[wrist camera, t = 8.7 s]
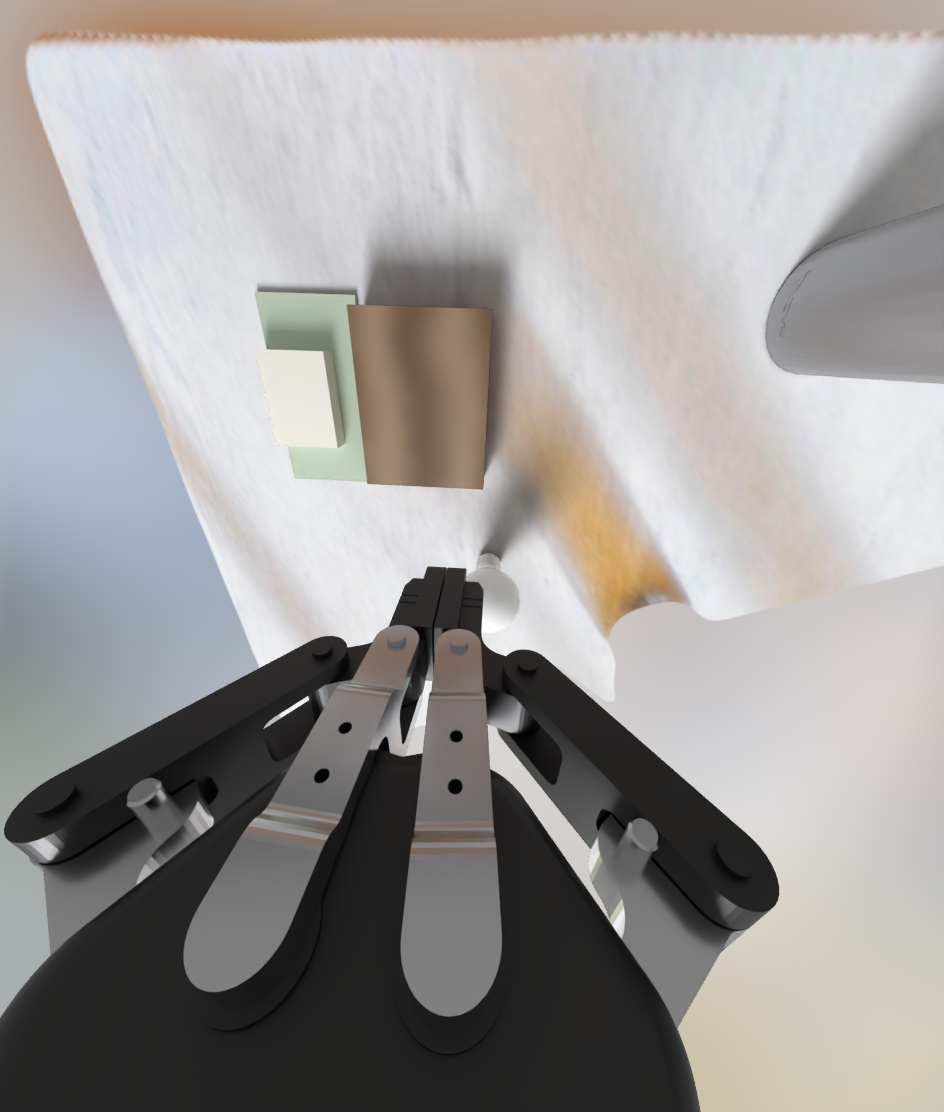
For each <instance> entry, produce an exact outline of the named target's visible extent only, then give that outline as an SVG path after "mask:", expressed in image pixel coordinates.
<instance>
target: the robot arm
mask: <svg viewBox="0 0 944 1112" xmlns="http://www.w3.org/2000/svg"><path fill="white" fill-rule="evenodd" d="M766 344H767V349H768V352H769V354H770V356H771V358H772V360H773V361H774V362H775V363H776V364H777V366H779V367H780V368H782V369H783V370H785V371H787V372H790V373H794V374H801V375H817V376H832V377H843V378H859V379H874V380H890V381H906V382H921V383H937V384H944V204H943V205H940V206H937V207H934V208H931V209H928V210H925V211H922V212H919V213H916V214H913V215H910V216H907V217H904V218H901V219H898V220H895V221H892V222H889V223H886V224H883V225H880V226H877V227H874V228H871V229H868V230H865V231H862V232H859V233H856V234H853V235H850V236H847V237H844V238H841V239H839V240H836V241H834V242H832V243H829V244H827V245H825V246H824V247H822V248H821V249H819V250H817V251H816V252H814V253H813V254H811V255H810V256H809V257H808V258H807V259H806V260H804V261H803V262H802V263H801V264H800V265H799V266H798V267H797V268H796V269H795V270H794V271H793V273H792V274H791V275H790V276H789V277H788V278H787V280H786V281H785V283H784V284H783V286H782V287H781V289H780V290H779V292H778V294H777V296H776V298H775V300H774V302H773V304H772V306H771V309H770V312H769V316H768V320H767V324H766ZM483 595H484V590H483V588H482V587H481V585H480V583H479V582H468V581H466V569H463V568H445V567H427V570H426V573H425V576H424V579H417V578H413V579H412V580H411V581H410V582H409V583H407V584H406V585H405V587H404V590H403V592H402V596H401V597H400V600H399V603H398V605H397V607H396V610H395V612H394V615H393V617H392V620H391V622H390V625H389V627H387V628H385V629H383V630H382V631H380V632H379V633H378V634H377V635H376V637H375V639H374V641H373V642H372V643H369V644H365V645H360V646H354V647H349V648H347V644H346V642H345V641H344V640H343V639H341V638H339V637H335V636H325V637H320V638H317V639H314V640H312V641H310V642H308V643H306V644H304V645H302V646H300V647H299V648H297V649H295V650H293V651H291V652H289V653H287V654H285V655H283V656H282V657H280V658H278V659H276V660H274V661H272V662H270V663H268V664H266V665H265V666H263V667H261V668H259V669H257V670H255V671H253V672H251V673H249V674H248V675H246V676H244V677H242V678H240V679H238V680H236V681H234V682H233V683H231V684H229V685H227V686H225V687H223V688H221V689H219V690H217V691H215V692H214V693H212V694H210V695H208V696H206V697H204V698H202V699H200V700H198V701H196V702H195V703H193V704H191V705H189V706H187V707H185V708H183V709H181V710H179V711H178V712H176V713H174V714H172V715H170V716H168V717H166V718H164V719H163V720H161V721H159V722H157V723H155V724H153V725H151V726H149V727H147V728H146V729H144V730H142V731H140V732H138V733H136V734H134V735H132V736H130V737H128V738H127V739H125V740H123V741H121V742H119V743H117V744H115V745H114V746H111V747H110V748H108V749H106V750H104V751H102V752H100V753H98V754H96V755H94V756H92V757H91V758H89V759H87V760H85V761H83V762H81V763H79V764H78V765H76V766H74V767H72V768H70V769H68V770H66V771H65V772H62V773H60V774H59V775H57V776H55V777H53V778H51V779H50V780H48V781H46V782H45V783H43V784H42V785H40V786H39V787H37V788H36V789H35V790H34V791H32V792H31V793H30V794H29V795H27V797H25V798H24V799H23V800H22V801H21V802H20V803H19V804H18V805H17V807H16V808H15V809H14V810H13V811H12V813H11V815H10V816H9V818H8V820H7V822H6V824H5V828H4V834H5V837H6V838H7V839H8V840H9V841H10V842H11V843H12V844H14V845H15V846H16V847H18V848H19V849H20V850H21V851H23V852H24V853H25V854H26V855H28V856H29V859H30V861H31V862H32V863H33V864H34V865H35V866H36V867H38V868H39V869H40V870H42V871H43V872H44V881H45V894H46V905H47V917H48V929H49V940H50V952H51V956H50V957H49V958H48V959H47V960H46V961H45V962H44V963H43V964H42V965H41V966H40V967H39V969H38V970H37V971H36V972H35V973H34V974H33V975H32V976H31V977H30V979H29V980H28V981H27V982H26V984H25V985H24V986H23V988H22V989H21V990H20V991H19V992H18V993H17V995H16V996H15V998H14V999H13V1000H12V1002H11V1003H10V1005H9V1006H8V1007H7V1009H6V1010H5V1011H4V1013H3V1015H2V1016H1V1018H0V1112H700V1106H699V1101H698V1096H697V1091H696V1086H695V1082H694V1078H693V1074H692V1070H691V1067H690V1063H689V1060H688V1057H687V1054H686V1051H685V1048H684V1045H683V1042H682V1040H681V1037H680V1035H679V1032H678V1030H677V1028H678V1026H679V1024H680V1023H681V1021H682V1019H683V1017H684V1016H685V1014H686V1012H687V1010H688V1008H689V1007H690V1005H691V1003H692V1002H693V1000H694V998H695V996H696V994H697V993H698V991H699V989H700V987H701V986H702V984H703V982H704V981H705V979H706V977H707V975H708V973H709V972H710V970H711V968H712V967H713V965H714V963H715V961H716V959H717V958H718V956H719V954H720V953H721V952H722V951H723V950H724V949H725V948H726V947H728V946H729V945H730V944H731V943H732V942H733V941H735V940H736V939H737V938H738V937H739V936H740V935H741V934H743V933H744V932H745V931H746V930H747V929H749V928H750V927H751V926H752V925H753V924H754V923H756V922H757V921H758V920H759V919H760V918H761V917H763V916H764V915H765V914H766V913H767V912H768V911H769V910H771V908H773V907H774V906H775V905H776V903H777V901H778V897H779V884H778V879H777V877H776V873H775V871H774V869H773V866H772V864H771V863H770V861H769V859H768V858H767V856H766V855H765V853H764V852H763V851H762V849H761V848H760V847H759V846H758V845H757V843H756V842H755V841H754V840H753V839H751V837H750V836H748V835H747V834H746V833H745V832H744V831H743V830H742V829H740V828H739V827H738V826H737V825H736V824H735V823H733V822H732V821H731V820H730V819H729V818H728V817H727V816H726V815H724V814H723V813H722V812H721V811H720V810H719V809H718V808H716V807H715V806H714V805H713V804H712V803H711V802H709V801H708V800H707V799H706V798H705V797H703V795H701V794H700V793H699V792H698V791H697V790H696V789H695V788H694V787H692V786H691V785H690V784H689V783H688V782H686V781H685V780H684V779H683V778H682V777H681V776H680V775H679V774H677V773H676V772H675V771H674V770H673V769H672V768H671V767H669V766H668V765H667V764H666V763H665V762H664V761H662V760H661V759H660V758H659V757H658V756H657V755H656V754H655V753H653V752H652V751H651V750H650V749H649V748H648V747H646V746H645V745H644V744H643V743H642V742H641V741H639V740H638V739H637V738H636V737H635V736H634V735H633V734H632V733H631V732H629V731H628V730H627V729H626V728H625V727H624V726H623V725H621V724H620V723H619V722H618V721H617V720H616V719H615V718H613V717H612V716H611V715H610V714H609V713H608V712H606V711H605V710H604V709H603V708H602V707H601V706H600V705H598V704H597V703H596V702H595V701H594V700H593V699H592V698H590V697H589V696H588V695H587V694H586V693H585V692H584V691H582V690H581V689H580V688H579V687H578V686H577V685H575V684H574V683H573V682H572V681H571V680H570V679H569V678H568V677H566V676H565V675H564V674H563V673H562V672H561V671H560V670H558V669H557V668H556V667H555V666H554V665H553V664H552V663H550V662H549V661H548V660H547V659H546V658H545V657H543V656H542V655H541V654H539V653H537V652H534V651H531V650H517V651H514V652H511V653H510V654H508V655H507V656H503V655H500V654H498V653H495V652H493V651H491V650H490V649H489V648H488V647H487V646H486V645H485V644H484V643H483V641H482V636H481V633H482V614H483ZM425 680H429V681H433V682H432V691H431V692H430V694H429V700H428V709H427V718H426V728H425V737H424V746H423V753H422V754H416V755H411V756H406V752H407V748H408V745H409V742H410V738H411V735H412V732H413V729H414V725H415V722H416V719H417V715H418V712H419V709H420V706H421V702H422V692H423V689H424V684H425ZM307 696H308V697H309V701H307V702H306V703H304V704H302V705H301V706H299V707H298V708H296V709H295V710H293V711H292V712H290V713H288V714H287V715H285V716H284V717H282V718H281V719H279V720H278V721H276V722H274V723H273V724H271V725H270V726H268V727H266V728H265V729H263V728H264V726H265V725H266V724H267V723H268V722H269V721H270V720H271V719H272V718H274V717H275V716H277V715H278V714H280V713H282V712H283V711H285V710H286V709H288V708H290V707H291V706H293V705H294V704H296V703H297V702H299V701H301V700H302V699H304V698H305V697H307ZM487 724H489V725H492V726H495V727H497V730H498V733H499V735H500V737H501V738H502V739H503V740H504V742H505V743H506V744H507V746H508V747H509V748H510V749H511V751H512V752H513V753H514V754H515V756H517V758H518V759H519V760H520V762H521V763H522V764H523V765H524V767H525V768H526V769H527V770H528V772H529V773H530V774H531V775H532V777H533V778H534V779H535V780H536V781H537V783H538V784H539V785H540V786H541V788H542V789H543V790H544V792H545V793H546V794H547V795H548V797H549V798H550V799H551V800H552V801H553V803H554V804H555V805H556V807H557V808H558V809H559V810H560V812H561V813H562V814H563V815H564V817H565V818H566V819H567V820H568V822H569V823H570V824H571V825H572V827H573V828H574V829H575V830H576V832H577V833H578V834H579V835H580V837H581V838H582V839H583V840H584V842H585V843H586V844H587V845H588V846H589V848H590V849H591V851H590V854H589V860H588V868H589V874H590V878H591V881H592V884H593V886H594V888H595V890H596V892H597V893H598V895H599V897H600V898H601V900H602V902H603V904H604V906H605V908H606V910H607V913H608V916H609V919H610V922H609V920H608V919H607V917H606V916H605V915H604V913H603V912H602V910H601V909H600V907H599V906H598V904H597V903H596V901H595V900H594V899H593V897H592V896H591V894H590V893H589V891H588V890H587V889H586V887H585V886H584V884H583V883H582V881H581V880H580V878H579V877H578V876H577V874H576V873H575V871H574V870H573V869H572V867H571V866H570V864H569V863H568V861H567V860H566V859H565V857H564V856H563V854H562V853H561V851H560V850H559V848H558V847H557V845H556V844H555V843H554V841H553V840H552V839H551V837H550V836H549V834H548V833H547V831H546V830H545V828H544V827H543V825H542V824H541V822H540V821H539V820H538V818H537V817H536V815H535V814H534V812H533V811H532V809H531V808H530V807H529V805H528V804H527V802H526V801H525V800H524V798H523V797H522V795H521V794H520V793H519V792H518V790H517V789H516V788H515V787H514V786H513V785H512V784H511V783H510V782H509V781H507V780H506V779H505V778H504V777H502V776H501V775H500V774H498V773H496V772H495V771H493V770H491V769H490V760H489V743H488V726H487Z"/></svg>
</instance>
